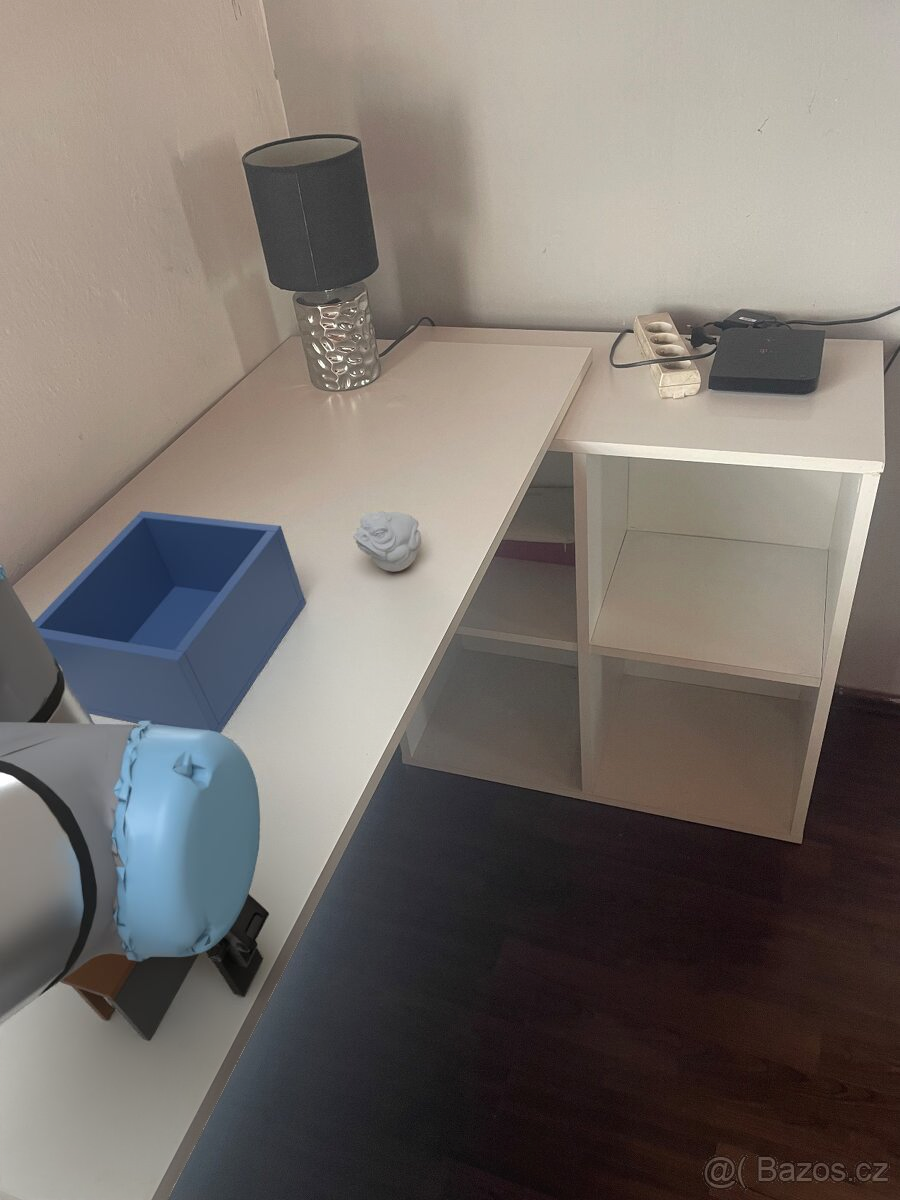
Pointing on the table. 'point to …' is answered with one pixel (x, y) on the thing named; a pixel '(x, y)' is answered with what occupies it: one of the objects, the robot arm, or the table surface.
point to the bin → (174, 619)
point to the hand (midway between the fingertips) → (169, 951)
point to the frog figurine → (389, 539)
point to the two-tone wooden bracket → (131, 987)
